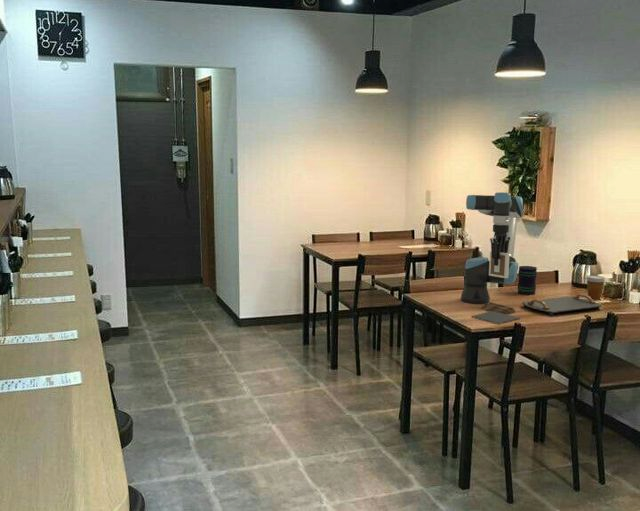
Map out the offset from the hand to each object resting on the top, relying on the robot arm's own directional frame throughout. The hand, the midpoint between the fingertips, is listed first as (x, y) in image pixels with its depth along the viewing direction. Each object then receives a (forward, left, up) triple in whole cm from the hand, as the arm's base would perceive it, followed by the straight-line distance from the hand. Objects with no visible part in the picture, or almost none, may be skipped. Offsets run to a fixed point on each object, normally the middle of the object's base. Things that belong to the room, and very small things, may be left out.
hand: (498, 271), depth 309 cm
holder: (-2, +5, -21) cm, 22 cm away
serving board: (+14, +35, -22) cm, 43 cm away
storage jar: (-17, +51, -21) cm, 57 cm away
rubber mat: (+6, -8, -21) cm, 23 cm away
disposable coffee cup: (+13, +70, -21) cm, 74 cm away
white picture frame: (0, 0, -2) cm, 2 cm away
